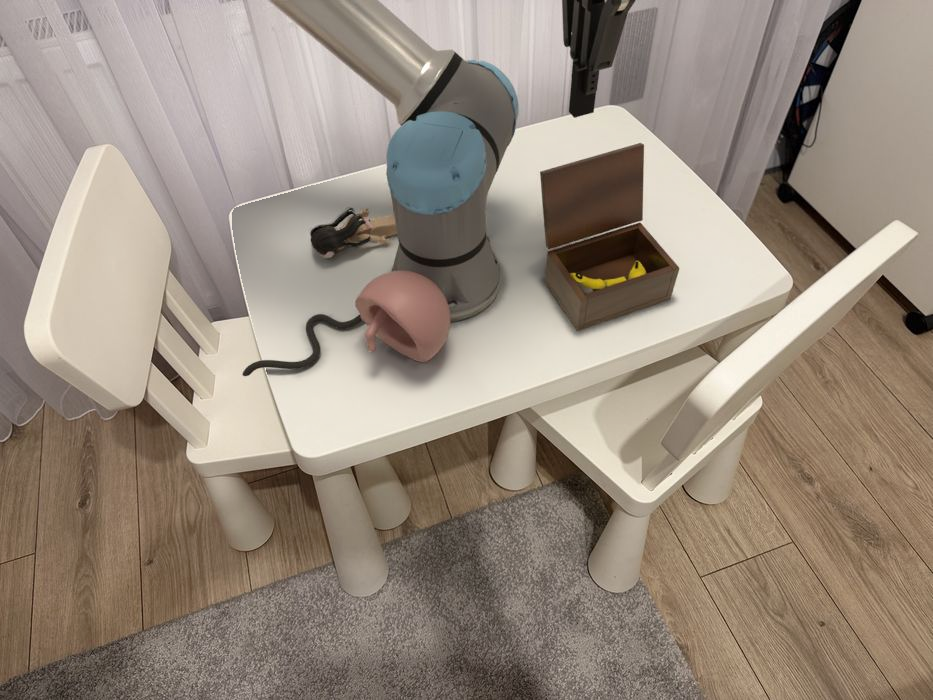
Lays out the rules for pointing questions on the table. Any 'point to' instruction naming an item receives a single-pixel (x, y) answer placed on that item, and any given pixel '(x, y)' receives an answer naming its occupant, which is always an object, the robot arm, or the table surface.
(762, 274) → the table surface
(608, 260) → the chest
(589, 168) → the lid
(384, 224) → the toy figure
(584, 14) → the robot arm
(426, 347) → the mortar and pestle
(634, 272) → the yellow curved piece
